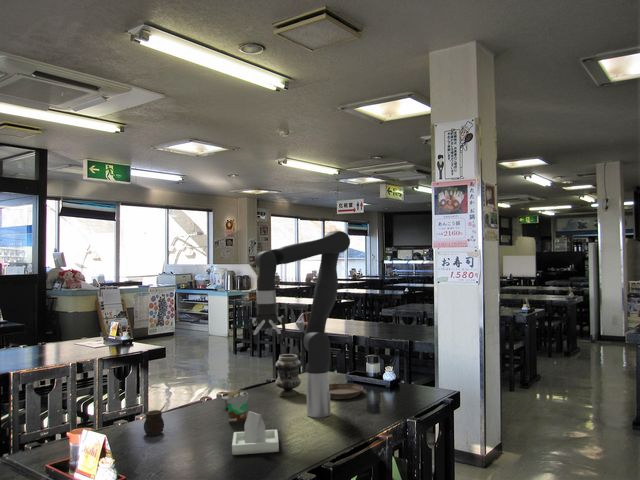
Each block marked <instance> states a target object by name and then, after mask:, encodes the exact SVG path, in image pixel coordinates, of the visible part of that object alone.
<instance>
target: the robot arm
mask: <svg viewBox="0 0 640 480" xmlns="http://www.w3.org/2000/svg"><path fill="white" fill-rule="evenodd" d="M350 244H351V239H350V236H349V235H348V234H347V233H346V232H345V231H342V230H335V231H330V232H328V233H326V234H325V235H324V237H322V238H318V239H314V240H310V241H309V240H307V241H304V242H297V243H292V244H288V245H285V246H282V247H278V248H274V249H268V250H265V251H264V250H262V251H260V252H258V253H257V254H256V256H255V257H254V258H255V259H254V263H255V265H256V267H257V268H259V275H258V277H257V280H256V289H257V290H256V292H257V293H256V317H249V320H248V334H251V335H253V336H252V337H253V344H255V345H257V346H258V332H259V331H260V330H261V329H274V330H275V332H276V336H277V339H276V340H277V343H276V344H278V345H279V344H280V343H281V342H282V333H286V321H285V316H284V315H282V316H277V293H276V280H275V279H276V274H277V267H278V266H280V265H288V264H291V263H295V262H296V263H297V262H299V261H302V260H306V259H309V258H312V257H316V256H319V255H320V256H321V257H320V264H319V270H318V273H317V279H316V283H315V287H314V292H313V299H312V303H311V309H310V316H309V320H308V323H307V327H306V330H305V333H304V337H303V347H304V349H305V350H306V351H307V352H308V353H307V355H308V356H307V360H308V361H307V363H306V365H305V379H306V380H305V382H306V383H305V384H306V386H305V387H306V388H305V389H306V416H308V417H309V418H310V417H311V418H318V419H319V418H325V417H330V416H331V415H332V413H331V411H332V409H331V408H332V407H331V398H330V391H329V384H330V365H331V341H330V339H329V337H328V335H326V332H325V330H326V325H327V321H328V318H329V315H330V313H331V311H332V310H333V308H334V306H335V303H336V299H337V294H338V288H339V279H338V271H337V265H338V261H339V257H340V254H341V253H343V252H346V250H347V251H348V249H349V247H350ZM278 321H279V323H281V329H280V328H279V327H278V326H277V324H276V323H277V322H278ZM255 322H256V323H257V326H256V328H255V329H254V330H253V324H254V323H255Z"/></svg>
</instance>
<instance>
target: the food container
mask: <svg viewBox="0 0 640 480" xmlns="http://www.w3.org/2000/svg"><path fill="white" fill-rule="evenodd" d="M237 391H238V393H237V394H235V395H233V396H232V397H230V398H229V397H228V399H227V403H228V408H227V409H228V410H227V411H228V423H229V424H236V423H241V422H244V421H246V419H247V408H248V407H247V406H248V405H247V404H248V400H249V398H250V397H249V393H248V392H247V391H245V390H241V389H240V390H239V389H237Z"/></svg>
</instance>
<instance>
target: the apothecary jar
mask: <svg viewBox="0 0 640 480" xmlns="http://www.w3.org/2000/svg"><path fill="white" fill-rule="evenodd" d="M301 365H302V363H301V361H300V360H299V359H298V355H296V354H294V353H284V354H279V357H278V360H277V361H276V362H275V367H276V368H277V378H276V379H275V385H276V386H277V387H278V388H280V389H283V390H281V391H279V392H278V393H277V396H280V397H283V398H284V397H286V398H287V397H296V396H299V394H300V393H299V391H297V390H295V389H296V388H299V386H300V385H301V383H302V380H301V378H300V377H299V368H300V366H301Z"/></svg>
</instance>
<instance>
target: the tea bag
mask: <svg viewBox="0 0 640 480" xmlns="http://www.w3.org/2000/svg"><path fill="white" fill-rule="evenodd" d="M244 421H245V422H244V432H245V443H260V442H266V438H265V430H266V424H265V422H264V420H263V417H262V414H260V413H256V412H254V411H250V410H249V411H248V412H247V414H246V420H244Z"/></svg>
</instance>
